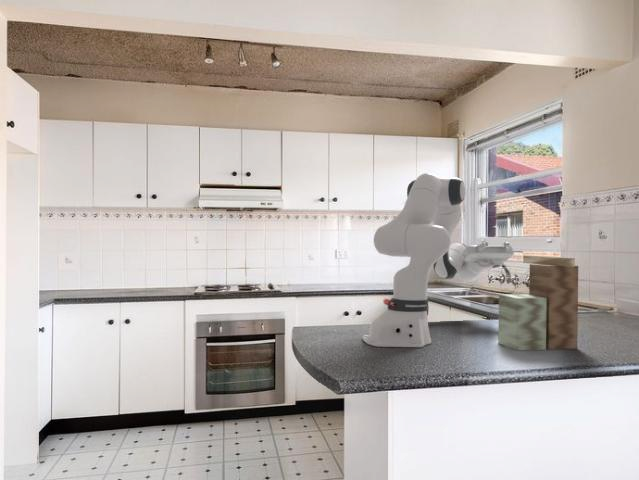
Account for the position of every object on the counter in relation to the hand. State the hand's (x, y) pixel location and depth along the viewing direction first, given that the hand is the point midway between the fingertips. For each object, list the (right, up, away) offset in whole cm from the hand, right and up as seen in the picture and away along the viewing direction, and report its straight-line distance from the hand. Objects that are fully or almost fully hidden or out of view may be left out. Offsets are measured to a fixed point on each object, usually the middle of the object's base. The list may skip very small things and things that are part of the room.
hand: (497, 243), depth 179 cm
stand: (0, -33, -33) cm, 47 cm away
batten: (+5, -7, -29) cm, 30 cm away
